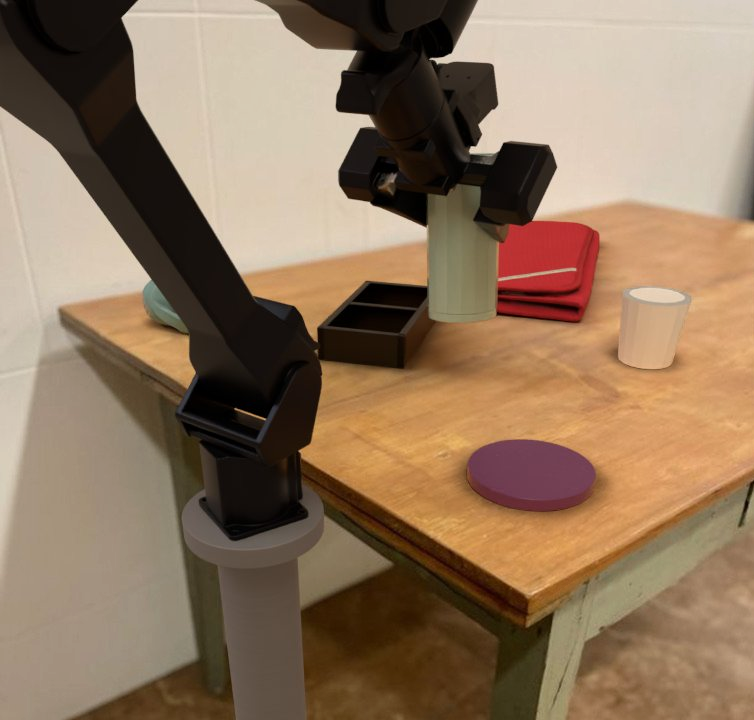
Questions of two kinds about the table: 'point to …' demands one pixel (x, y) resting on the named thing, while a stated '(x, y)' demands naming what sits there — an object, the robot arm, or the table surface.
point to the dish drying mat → (547, 269)
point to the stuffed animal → (160, 308)
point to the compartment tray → (377, 325)
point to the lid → (531, 475)
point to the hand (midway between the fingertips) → (471, 233)
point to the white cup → (651, 325)
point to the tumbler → (460, 258)
